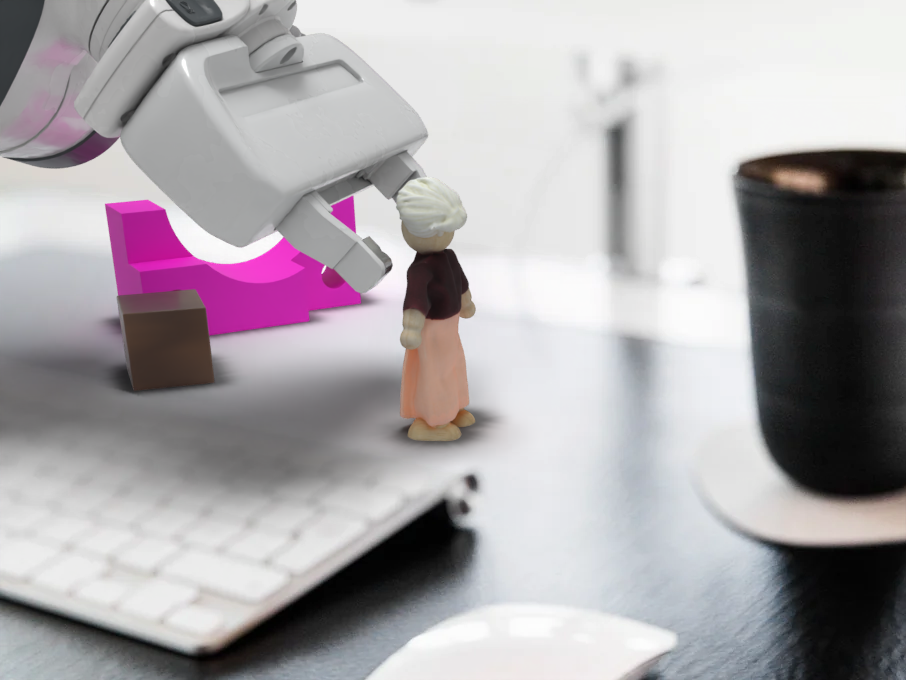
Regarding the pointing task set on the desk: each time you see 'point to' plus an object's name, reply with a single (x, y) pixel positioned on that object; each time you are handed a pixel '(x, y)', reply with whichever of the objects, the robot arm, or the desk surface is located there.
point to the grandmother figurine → (433, 313)
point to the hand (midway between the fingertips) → (414, 258)
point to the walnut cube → (165, 339)
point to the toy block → (224, 272)
